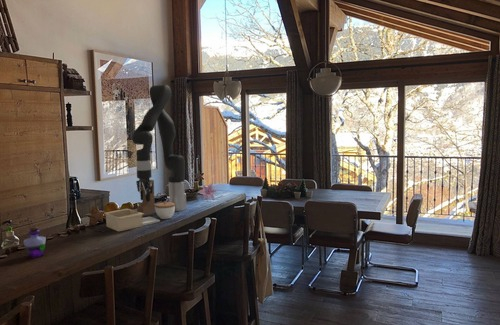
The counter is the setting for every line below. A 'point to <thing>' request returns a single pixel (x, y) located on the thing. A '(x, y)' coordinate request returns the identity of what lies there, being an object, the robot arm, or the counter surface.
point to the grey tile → (149, 220)
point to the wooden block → (147, 203)
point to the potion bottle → (35, 243)
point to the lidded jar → (165, 209)
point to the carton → (123, 219)
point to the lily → (207, 191)
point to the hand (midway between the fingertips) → (145, 200)
